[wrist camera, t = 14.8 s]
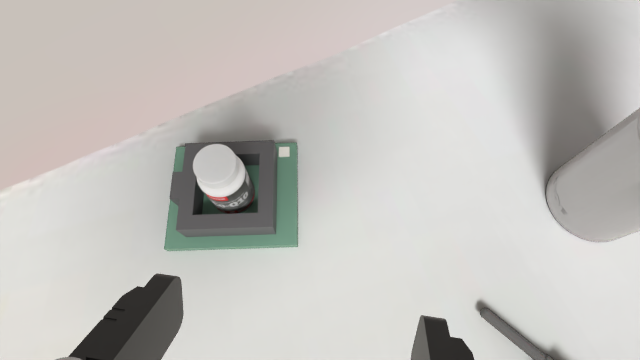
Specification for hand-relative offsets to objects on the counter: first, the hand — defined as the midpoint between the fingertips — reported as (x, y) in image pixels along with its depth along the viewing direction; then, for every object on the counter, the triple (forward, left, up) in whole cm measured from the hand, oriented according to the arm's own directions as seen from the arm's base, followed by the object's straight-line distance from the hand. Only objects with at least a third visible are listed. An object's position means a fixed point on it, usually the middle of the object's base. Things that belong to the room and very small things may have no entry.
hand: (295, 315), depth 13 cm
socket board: (+9, -15, -28) cm, 33 cm away
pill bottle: (+9, -14, -27) cm, 32 cm away
